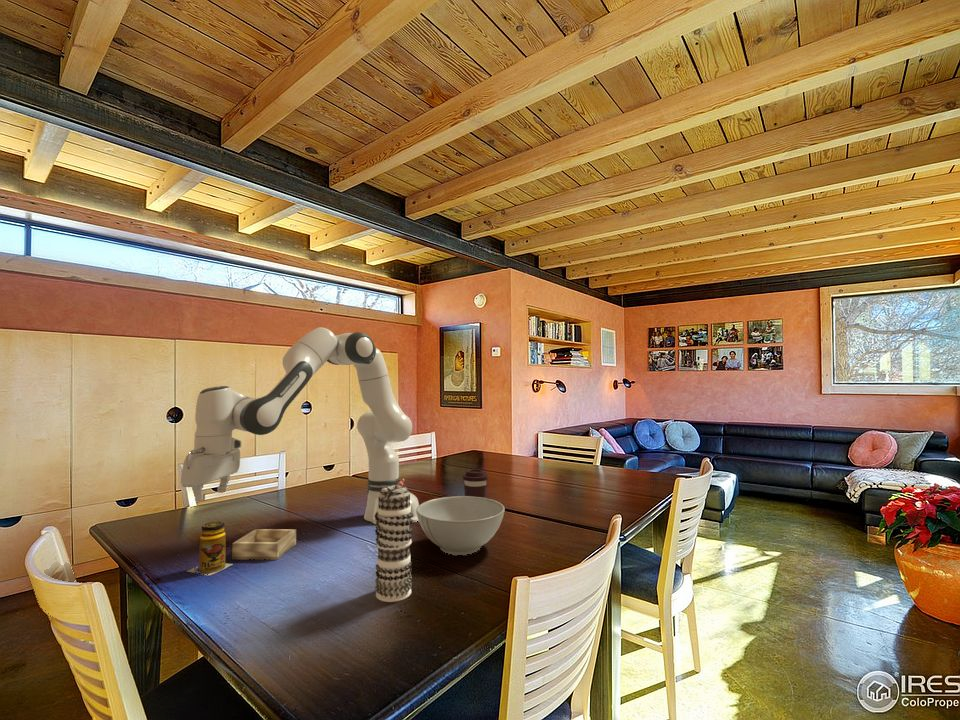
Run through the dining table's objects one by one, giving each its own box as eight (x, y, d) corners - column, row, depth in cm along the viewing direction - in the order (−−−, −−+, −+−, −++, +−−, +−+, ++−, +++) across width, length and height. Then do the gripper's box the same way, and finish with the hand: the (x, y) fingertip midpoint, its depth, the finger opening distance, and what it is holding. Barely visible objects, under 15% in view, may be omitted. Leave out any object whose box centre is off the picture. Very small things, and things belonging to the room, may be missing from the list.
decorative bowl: (399, 558, 126) (399, 515, 126) (439, 528, 151) (439, 493, 151) (487, 572, 117) (487, 525, 117) (515, 538, 142) (514, 500, 142)
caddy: (296, 544, 137) (296, 529, 137) (277, 559, 125) (277, 543, 125) (254, 543, 137) (255, 529, 138) (232, 559, 125) (232, 543, 126)
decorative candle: (377, 606, 99) (378, 493, 100) (370, 588, 108) (371, 485, 109) (417, 598, 103) (417, 489, 104) (407, 581, 111) (408, 481, 112)
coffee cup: (465, 505, 179) (465, 468, 180) (489, 506, 178) (489, 468, 179) (460, 512, 169) (460, 473, 170) (486, 513, 168) (486, 473, 169)
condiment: (210, 576, 115) (211, 529, 115) (185, 572, 117) (187, 526, 118) (233, 565, 122) (234, 521, 122) (210, 561, 124) (211, 518, 125)
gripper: (199, 451, 111) (197, 507, 110) (244, 440, 131) (243, 487, 130) (174, 451, 111) (172, 506, 110) (224, 440, 131) (222, 487, 130)
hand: (211, 496), depth 120 cm, fingers open, 8 cm apart
